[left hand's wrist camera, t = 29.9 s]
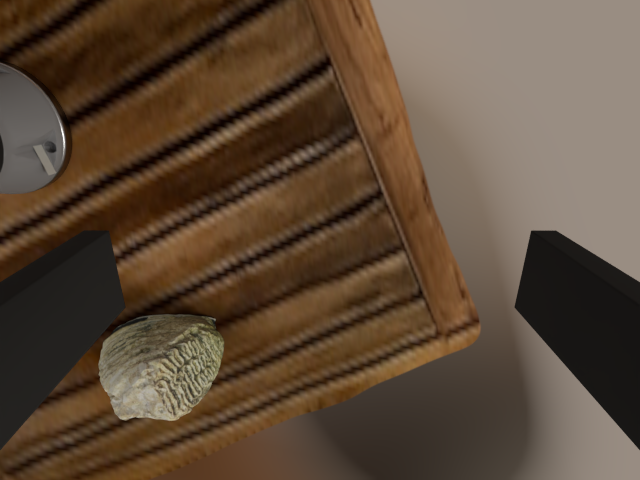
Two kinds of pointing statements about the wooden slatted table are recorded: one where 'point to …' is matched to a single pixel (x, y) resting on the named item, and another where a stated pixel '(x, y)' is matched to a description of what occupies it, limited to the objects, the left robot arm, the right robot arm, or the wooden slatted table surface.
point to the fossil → (160, 365)
